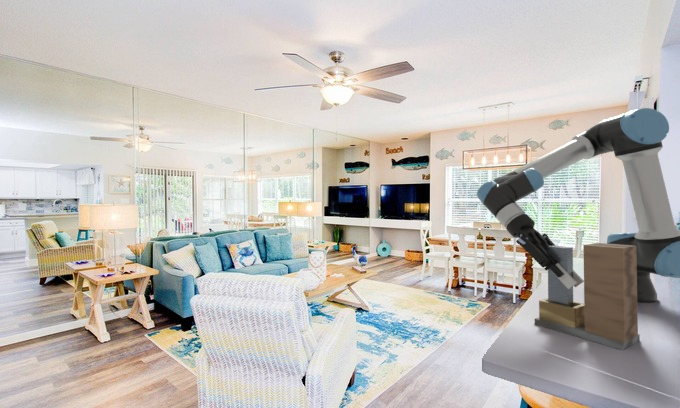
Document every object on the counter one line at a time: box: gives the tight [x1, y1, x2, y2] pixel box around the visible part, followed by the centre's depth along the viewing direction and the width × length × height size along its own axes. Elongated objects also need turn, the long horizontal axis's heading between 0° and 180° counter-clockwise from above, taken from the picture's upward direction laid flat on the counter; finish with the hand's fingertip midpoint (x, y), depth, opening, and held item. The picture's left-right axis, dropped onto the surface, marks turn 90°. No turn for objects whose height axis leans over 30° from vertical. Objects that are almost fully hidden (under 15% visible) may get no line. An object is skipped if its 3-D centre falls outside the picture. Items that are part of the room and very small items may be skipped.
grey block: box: [547, 245, 574, 307], centre depth 92 cm, size 3×5×16 cm, turn 31°
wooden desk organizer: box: [534, 242, 641, 351], centre depth 87 cm, size 10×20×24 cm, turn 31°
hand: (576, 285), depth 88 cm, fingers closed on grey block, 3 cm apart
